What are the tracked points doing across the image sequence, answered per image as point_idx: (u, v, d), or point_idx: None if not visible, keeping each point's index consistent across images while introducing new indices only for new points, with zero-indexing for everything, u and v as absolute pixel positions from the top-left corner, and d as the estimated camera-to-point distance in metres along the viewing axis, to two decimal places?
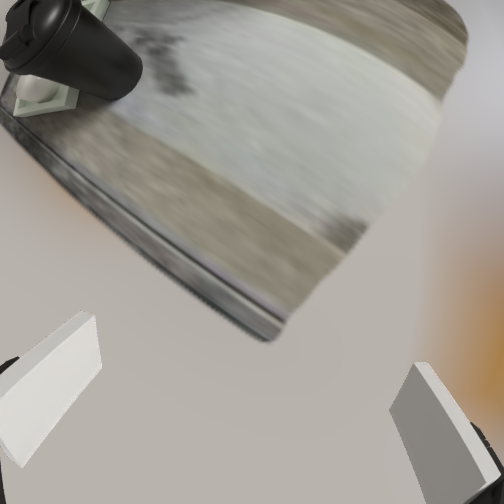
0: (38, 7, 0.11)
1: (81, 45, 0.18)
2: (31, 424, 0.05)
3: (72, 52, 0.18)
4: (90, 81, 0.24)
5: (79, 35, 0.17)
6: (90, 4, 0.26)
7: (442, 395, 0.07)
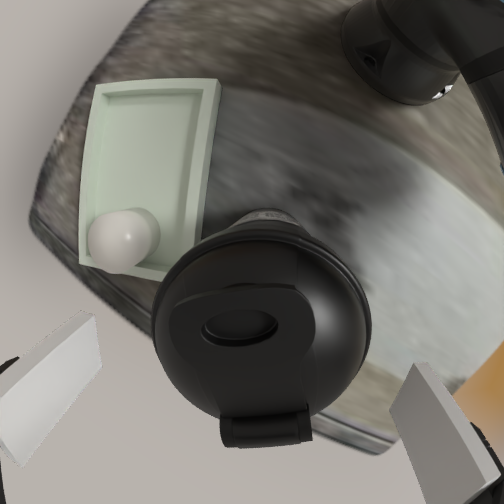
0: (323, 365, 0.09)
1: None
2: (31, 424, 0.05)
3: None
4: None
5: None
6: (192, 89, 0.25)
7: (442, 395, 0.07)
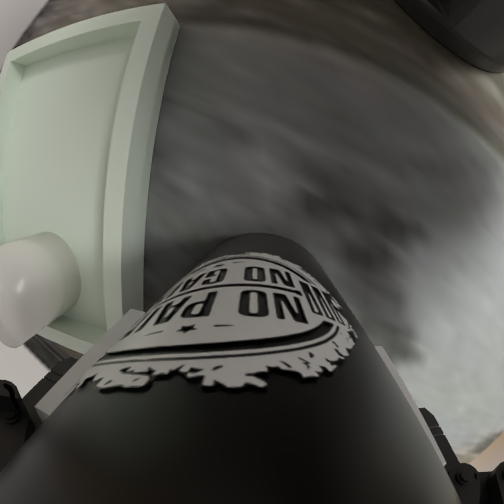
0: None
1: None
2: None
3: None
4: None
5: None
6: (123, 26, 0.11)
7: None
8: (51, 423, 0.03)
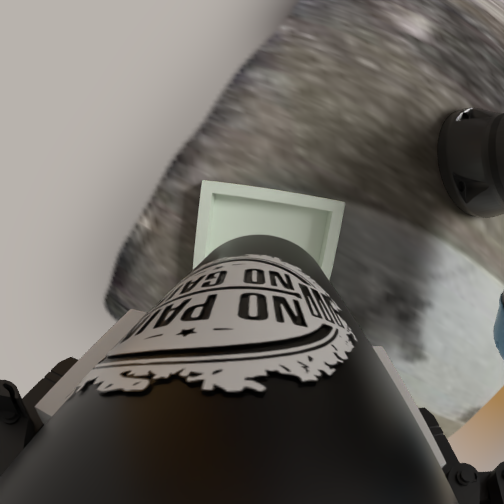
0: None
1: None
2: None
3: None
4: None
5: None
6: (319, 208, 0.29)
7: (391, 377, 0.08)
8: (52, 426, 0.03)
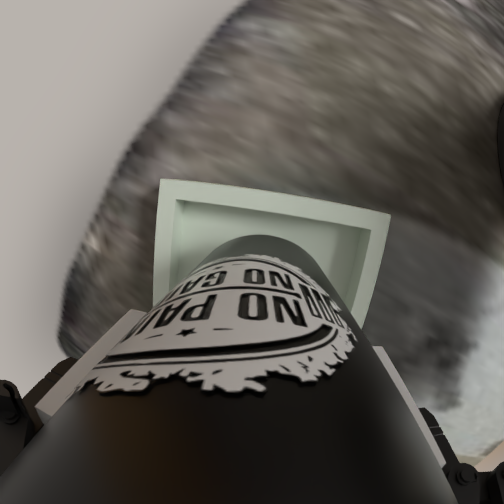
0: None
1: None
2: None
3: None
4: None
5: None
6: (350, 225, 0.17)
7: (391, 377, 0.08)
8: (52, 426, 0.03)
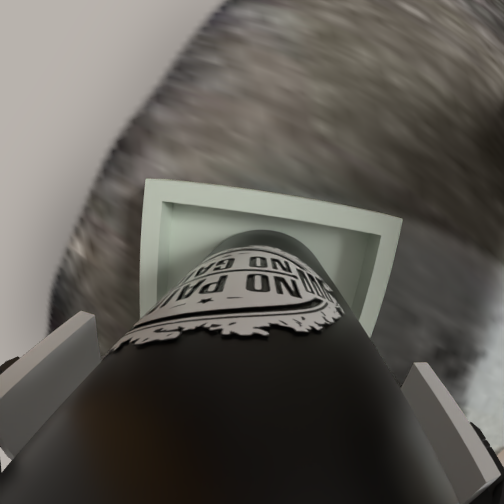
0: None
1: None
2: (31, 424, 0.05)
3: None
4: None
5: None
6: None
7: (442, 395, 0.07)
8: (95, 376, 0.04)
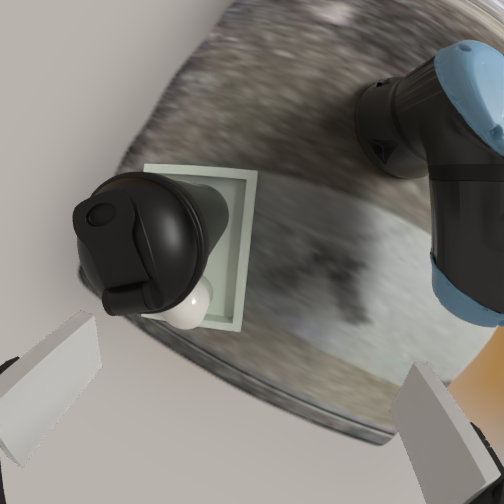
0: (152, 244, 0.16)
1: None
2: (31, 424, 0.05)
3: None
4: None
5: None
6: (236, 178, 0.34)
7: (442, 395, 0.07)
8: None
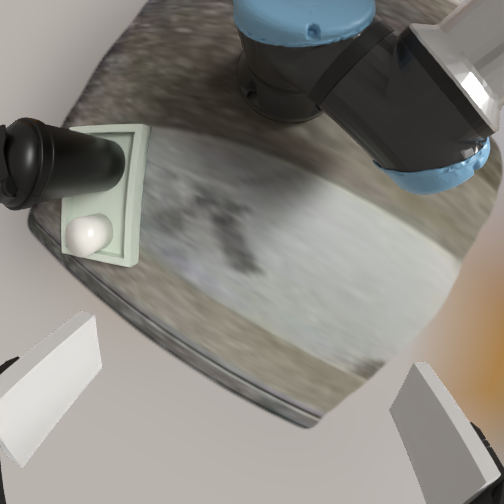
0: (13, 154, 0.18)
1: (63, 178, 0.25)
2: (31, 424, 0.05)
3: (56, 187, 0.25)
4: (78, 193, 0.32)
5: (58, 172, 0.24)
6: (128, 131, 0.37)
7: (442, 395, 0.07)
8: None
